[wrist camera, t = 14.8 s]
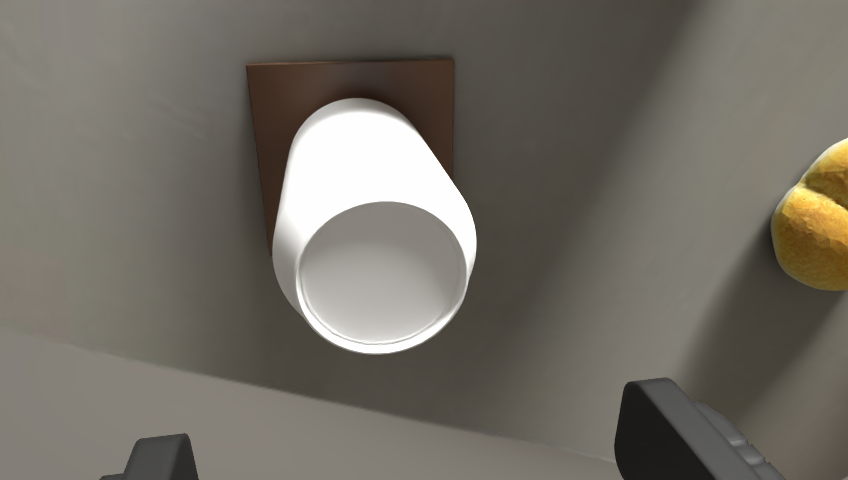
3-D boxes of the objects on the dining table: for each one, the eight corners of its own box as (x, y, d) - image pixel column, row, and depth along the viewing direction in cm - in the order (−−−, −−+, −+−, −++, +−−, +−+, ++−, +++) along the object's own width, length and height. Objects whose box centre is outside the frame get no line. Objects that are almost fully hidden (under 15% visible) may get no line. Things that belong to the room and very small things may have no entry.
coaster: (270, 252, 28) (270, 256, 28) (246, 63, 25) (245, 64, 24) (449, 239, 30) (451, 243, 29) (452, 58, 26) (454, 59, 26)
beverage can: (449, 152, 27) (536, 263, 16) (365, 246, 28) (394, 407, 18) (347, 63, 25) (369, 123, 14) (260, 170, 26) (219, 301, 15)
